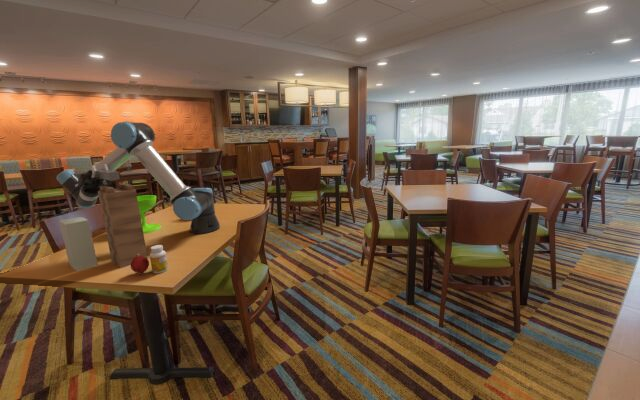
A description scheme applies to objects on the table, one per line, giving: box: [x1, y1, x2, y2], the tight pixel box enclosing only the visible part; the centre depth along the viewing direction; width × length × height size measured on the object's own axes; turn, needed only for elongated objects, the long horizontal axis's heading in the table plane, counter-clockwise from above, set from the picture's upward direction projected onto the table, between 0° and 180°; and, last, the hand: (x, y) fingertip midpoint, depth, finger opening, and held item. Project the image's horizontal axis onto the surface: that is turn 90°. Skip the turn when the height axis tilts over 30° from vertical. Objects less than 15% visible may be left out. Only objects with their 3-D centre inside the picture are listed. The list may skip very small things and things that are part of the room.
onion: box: [130, 254, 150, 275], centre depth 110 cm, size 6×6×8 cm
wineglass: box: [137, 194, 162, 234], centre depth 162 cm, size 16×16×18 cm
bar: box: [94, 169, 121, 181], centre depth 122 cm, size 22×4×3 cm, turn 52°
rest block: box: [58, 216, 99, 272], centre depth 118 cm, size 10×7×19 cm
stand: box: [98, 182, 149, 268], centre depth 119 cm, size 10×10×32 cm
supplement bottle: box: [149, 244, 169, 274], centre depth 111 cm, size 5×5×10 cm
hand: (100, 167), depth 123 cm, fingers closed on bar, 3 cm apart
